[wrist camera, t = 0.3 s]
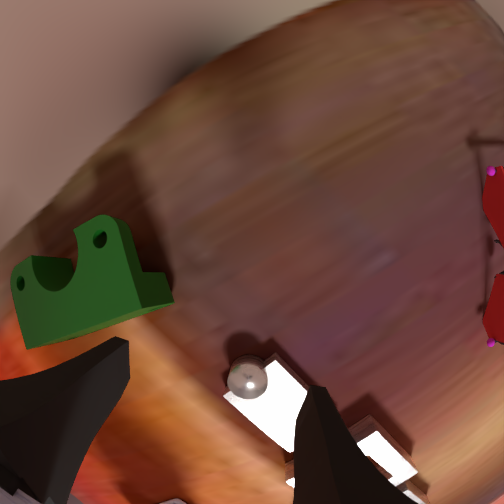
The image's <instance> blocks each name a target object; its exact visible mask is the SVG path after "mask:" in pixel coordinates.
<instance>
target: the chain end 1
mask: <svg viewBox="0 0 504 504" xmlns="http://www.w3.org/2000/svg"><path fill="white" fill-rule="evenodd" d="M227 384H228V386H226V387H225V390H224V394H223V396H224V397H225V398H226V399H227V400H228V401H229V402H230V403H231V404H232V405H234V406H235V407H236V408H237V409H238V410H239V411H240V412H241V413H243V414H244V415H245V416H246V417H247V418H248V419H249V420H251V421H252V422H253V423H254V424H255V425H256V426H258V427H259V428H260V429H261V430H262V431H264V432H265V433H266V434H267V435H268V436H270V437H271V438H272V439H273V440H275V441H276V442H277V443H278V444H280V445H281V446H282V447H283V448H285V449H286V450H287V451H288V452H292V451H293V440H294V429H295V420H296V417H297V415H298V413H299V410H300V408H301V406H302V403H303V401H304V399H305V396H306V394H307V391H308V389H309V386H308V385H307V384H306V383H305V382H304V381H303V380H302V379H301V378H300V377H299V376H298V375H297V374H296V373H295V372H294V371H293V370H292V369H291V368H290V367H289V366H288V365H287V363H286V362H285V361H284V360H283V359H282V358H281V357H280V356H279V355H278V354H277V353H276V352H275V353H274V354H273V355H271V356H270V357H268V358H267V359H266V360H263V359H261V358H260V357H258V356H255V355H243V356H240V357H238V358H237V359H235V360H234V362H233V363H232V366H231V369H230V373H229V376H228V381H227ZM371 423H374V424H375V425H376V426H377V427H378V428H379V429H380V430H381V431H382V432H383V433H384V434H385V435H386V436H387V437H388V438H389V439H390V440H391V441H392V442H393V443H394V444H395V445H396V446H397V447H398V448H399V449H400V450H401V451H402V452H403V453H404V454H405V455H406V456H407V457H408V458H409V459H410V460H411V461H412V462H413V463H414V461H413V459H412V457H411V456H410V455H409V454H408V453H407V452H406V451H405V450H404V449H403V448H402V447H401V446H400V445H399V444H398V443H397V441H396V440H395V439H394V438H393V437H392V436H391V435H390V434H389V433H388V432H387V431H386V430H385V429H384V428H383V427H382V426H381V425H380V424H379V423H378V422H377V421H376V420H375V419H374V418H373V416H372V415H371V414H369V415H367V416H366V417H364V418H363V419H361V420H360V421H358V422H357V423H355V424H354V425H352V426H351V427H349V428H348V430H349V432H350V433H351V435H352V436H353V435H354V434H356V433H358V432H359V431H361V430H362V429H364V428H365V427H367V426H368V425H370V424H371ZM293 468H294V459H293V460H291V461H289V462H287V463H285V472H287V471H289V470H291V469H293ZM376 468H377V469H378V470H379V471H380V472H381V473H383V472H385V471H386V469H384V468H383V467H382V466H381V465H378V466H377V467H376Z"/></svg>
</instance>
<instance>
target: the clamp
mask: <svg viewBox="0 0 504 504" xmlns="http://www.w3.org/2000/svg"><path fill="white" fill-rule="evenodd" d="M73 231H74V233H75V236H76V239H77V244H78V262H77V267H76V270H75V273H74V271H73V267H72V262H71V259H67V258H56V257H44V256H33V255H31V256H30V257H28V258H27V259H25V260H24V261H22V262H21V263H19V264H18V265H16V266H15V267H14V269H13V271H12V274H11V291H12V295H13V300H14V304H15V309H16V313H17V317H18V321H19V325H20V328H21V332H22V336H23V339H24V342H25V346H26V349H27V350H28V349H32V348H36V347H41V346H45V345H50V344H54V343H58V342H62V341H66V340H70V339H74V338H77V337H80V336H83V335H86V334H89V333H92V332H95V331H98V330H101V329H103V328H106V327H109V326H112V325H115V324H118V323H121V322H123V321H126V320H129V319H132V318H135V317H138V316H140V315H143V314H146V313H149V312H152V311H155V310H157V309H160V308H163V307H166V306H168V305H171V304H173V303H175V302H174V299H173V296H172V293H171V290H170V287H169V284H168V281H167V278H166V275H165V273H162V272H142V268H141V265H140V262H139V258H138V255H137V252H136V248H135V244H134V241H133V237H132V234H131V230H130V228H129V226H128V225H127V224H126V223H125V222H124V221H123V220H121V219H118V218H114V217H111V216H108V215H98V216H96V217H94V218H92V219H91V220H89V221H87V222H85V223H84V224H82V225H80V226H78V227H77V228H75V229H73Z"/></svg>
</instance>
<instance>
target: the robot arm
mask: <svg viewBox="0 0 504 504" xmlns="http://www.w3.org/2000/svg"><path fill="white" fill-rule="evenodd" d="M129 379H130V366H129V341H128V340H125V339H122V338H119V337H116V336H115V337H113V338H111V339H109V340H107V341H105V342H104V343H102V344H100V345H98V346H96V347H94V348H92V349H91V350H89V351H87V352H85V353H83V354H81V355H79V356H77V357H75V358H73V359H71V360H68V361H66V362H64V363H62V364H59V365H57V366H55V367H52V368H50V369H47V370H44V371H41V372H38V373H35V374H31V375H27V376H23V377H18V378H14V379H9V380H2V381H0V504H67V500H68V497H69V494H70V491H71V488H72V486H73V483H74V480H75V478H76V475H77V473H78V470H79V468H80V466H81V463H82V461H83V459H84V457H85V455H86V453H87V451H88V448H89V446H90V444H91V442H92V441H93V439H94V437H95V435H96V434H97V432H98V431H99V429H100V428H101V426H102V425H103V423H104V422H105V420H106V419H107V417H108V416H109V414H110V413H111V411H112V410H113V408H114V407H115V405H116V404H117V402H118V401H119V399H120V398H121V396H122V394H123V392H124V390H125V388H126V386H127V384H128V381H129ZM293 450H294V500H293V504H418V503H417V502H415V501H414V500H412V499H411V498H409V497H408V496H407V495H405V494H404V493H403V492H402V491H400V490H399V489H398V488H397V487H396V486H394V485H393V484H392V483H391V482H390V481H389V480H388V479H387V478H386V477H385V476H384V475H383V474H382V473H381V472H380V471H379V470H378V469H377V468H376V467H375V466H374V465H373V464H372V462H371V461H370V460H369V459H368V458H367V456H366V455H365V454H364V453H363V451H362V450H361V448H360V447H359V446H358V444H357V443H356V441H355V440H354V438H353V437H352V435H351V433H350V432H349V430H348V428H347V427H346V425H345V423H344V422H343V420H342V418H341V416H340V414H339V413H338V411H337V409H336V407H335V405H334V403H333V401H332V399H331V397H330V395H329V393H328V391H327V389H326V387H320V386H314V385H310V387H309V389H308V391H307V394H306V396H305V399H304V401H303V403H302V406H301V408H300V410H299V413H298V415H297V417H296V420H295V429H294V440H293ZM159 504H186V503H185V502H183V501H182V500H180V499H173V500H169V501H166V502H163V503H159Z"/></svg>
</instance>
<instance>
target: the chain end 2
mask: <svg viewBox="0 0 504 504" xmlns="http://www.w3.org/2000/svg"><path fill="white" fill-rule="evenodd" d="M352 437H353V438H354V440H355V441H356V443H357V444H358V446H359V447H360V448H361V450H362V451H363V453H364V454H365V455H367V454H368V455H369V456H371V457H372V458H373V459H374V460H375V461H376V462H377V463H379V464H380V465H381V466H382V467H383V468H384V469H386V471H385V472H383V473H382V474H383V475H384V476H385V477H386V478H387V479H388V480H389V481H390V482H391V483H392V484H393V485H394V486H396V487H397V488H398V489H399V490H400V491H402V492H403V493H404V494H405V495H407V496H408V497H409V498H411V499H412V500H414V501H415V502H417V503H418V504H430V502H429V500H428V497H427V495H426V494H424V493H423V492H422V491H421V490H420V489H419V488H417V487H416V486H415V485H414V484H413V483H412V482H410V481H409V480H408V479H409V478H410V477H412V476H413V475H415V474H417V473H418V470H417V468H416V466H415V464H414V463H413V462H412V461H411V460H410V459H409V458H408V457H407V456H406V455H405V454H404V453H403V452H402V451H401V450H400V449H399V448H398V447H397V446H396V445H395V444H394V443H393V442H392V441H391V440H390V439H389V438H388V437H387V436H386V435H385V434H384V433H383V432H382V431H381V430H380V429H379V428H378V427H377V426H376V425H375V424H374V423H371V424H370V425H368V426H367V427H365V428H364V429H362V430H361V431H359V432H358V433H356V434H354V435H353V436H352ZM285 482H287V483H288V484H290V485H291V486H293V487H294V468H293V469H291V470H289V471H287V472H285Z"/></svg>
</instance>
